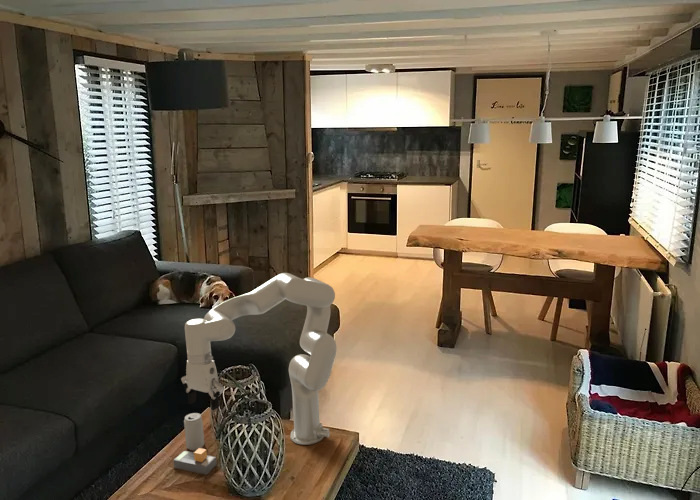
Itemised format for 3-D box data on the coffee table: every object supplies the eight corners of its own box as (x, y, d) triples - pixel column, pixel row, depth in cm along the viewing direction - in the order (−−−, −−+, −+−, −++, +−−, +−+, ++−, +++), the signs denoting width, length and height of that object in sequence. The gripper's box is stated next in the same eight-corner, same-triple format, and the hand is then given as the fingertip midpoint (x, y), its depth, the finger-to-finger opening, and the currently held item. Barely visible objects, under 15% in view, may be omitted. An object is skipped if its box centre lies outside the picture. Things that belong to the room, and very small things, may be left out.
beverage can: (182, 448, 206) (179, 418, 203) (195, 440, 211) (192, 410, 208) (196, 453, 203) (193, 422, 200) (208, 444, 208) (205, 414, 206)
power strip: (216, 464, 195) (215, 456, 194) (206, 474, 190) (205, 466, 189) (185, 458, 200) (184, 450, 199) (174, 467, 194) (173, 459, 193)
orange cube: (207, 457, 194) (206, 449, 193) (202, 462, 191) (201, 454, 190) (199, 455, 195) (199, 447, 194) (194, 460, 192) (193, 452, 192)
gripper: (228, 357, 183) (232, 405, 187) (187, 348, 191) (192, 395, 195) (212, 365, 177) (216, 416, 180) (171, 356, 185) (176, 405, 188)
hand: (204, 405), depth 187 cm, fingers open, 9 cm apart
